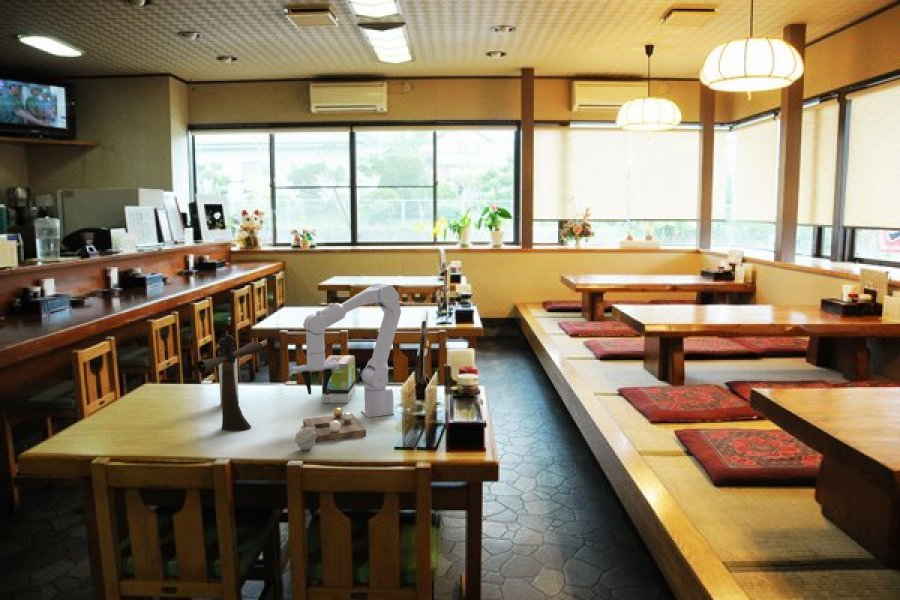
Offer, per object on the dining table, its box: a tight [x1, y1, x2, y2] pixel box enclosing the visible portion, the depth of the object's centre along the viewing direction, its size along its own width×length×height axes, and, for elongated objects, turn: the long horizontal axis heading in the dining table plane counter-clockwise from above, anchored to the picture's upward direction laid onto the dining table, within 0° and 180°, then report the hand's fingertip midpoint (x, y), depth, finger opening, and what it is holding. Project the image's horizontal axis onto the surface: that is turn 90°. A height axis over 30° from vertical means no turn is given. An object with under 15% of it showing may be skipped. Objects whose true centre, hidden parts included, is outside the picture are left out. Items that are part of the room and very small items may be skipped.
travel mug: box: [217, 347, 240, 407], centre depth 236 cm, size 6×7×20 cm
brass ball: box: [332, 407, 344, 417], centre depth 215 cm, size 3×3×3 cm
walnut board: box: [302, 412, 367, 444], centre depth 208 cm, size 16×18×2 cm
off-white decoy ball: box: [330, 420, 341, 432], centre depth 201 cm, size 3×3×3 cm
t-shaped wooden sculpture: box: [196, 334, 264, 432], centre depth 210 cm, size 32×10×30 cm, turn 165°
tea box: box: [321, 354, 356, 404], centre depth 244 cm, size 15×10×15 cm
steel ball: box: [343, 412, 353, 423], centre depth 210 cm, size 3×3×3 cm
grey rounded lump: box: [294, 427, 318, 452], centre depth 191 cm, size 6×7×7 cm
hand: (317, 392), depth 215 cm, fingers open, 4 cm apart
